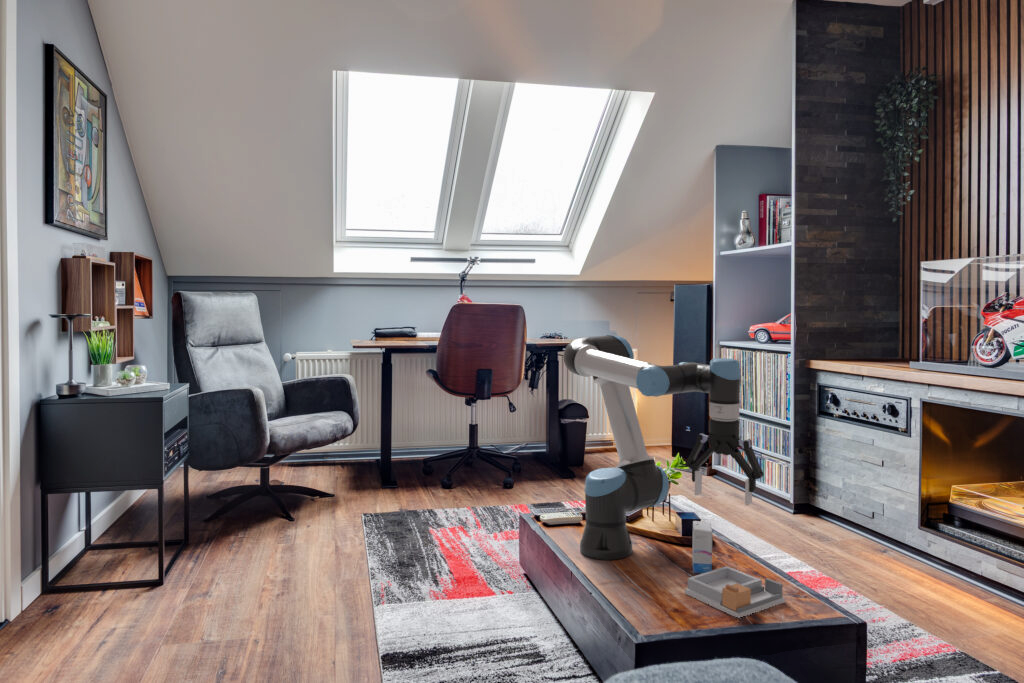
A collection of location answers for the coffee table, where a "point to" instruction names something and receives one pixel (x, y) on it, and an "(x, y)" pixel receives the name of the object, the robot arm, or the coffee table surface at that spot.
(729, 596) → the brown block
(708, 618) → the coffee table surface
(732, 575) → the housing
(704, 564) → the ink box
